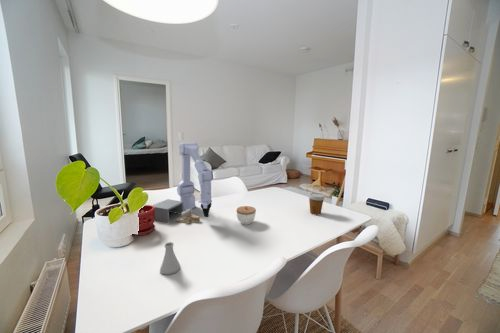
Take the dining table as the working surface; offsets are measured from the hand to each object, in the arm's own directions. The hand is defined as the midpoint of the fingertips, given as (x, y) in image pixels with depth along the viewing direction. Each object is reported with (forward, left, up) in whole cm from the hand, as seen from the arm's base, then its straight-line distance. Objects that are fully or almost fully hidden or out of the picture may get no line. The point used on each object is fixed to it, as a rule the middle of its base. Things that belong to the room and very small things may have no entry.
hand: (206, 216), depth 122 cm
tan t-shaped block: (0, -11, -4) cm, 12 cm away
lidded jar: (-10, +19, -4) cm, 22 cm away
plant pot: (+21, -25, -4) cm, 33 cm away
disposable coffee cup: (-40, +54, -4) cm, 68 cm away
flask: (+40, +9, -4) cm, 41 cm away
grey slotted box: (0, -27, -4) cm, 27 cm away
